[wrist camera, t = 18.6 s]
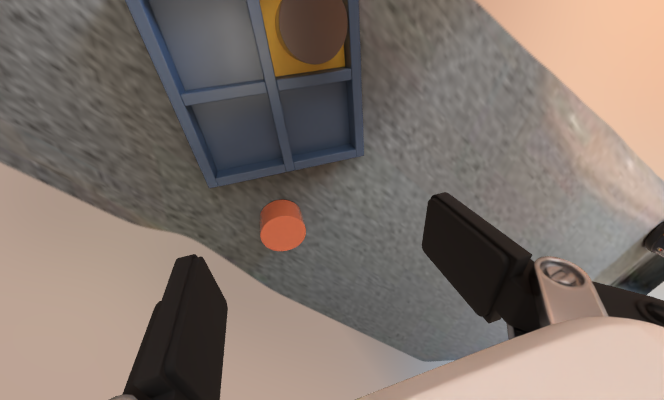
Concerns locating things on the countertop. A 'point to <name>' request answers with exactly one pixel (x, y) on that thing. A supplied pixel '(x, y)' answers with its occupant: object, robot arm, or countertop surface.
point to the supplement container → (656, 240)
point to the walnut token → (311, 29)
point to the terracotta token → (281, 225)
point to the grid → (252, 88)
